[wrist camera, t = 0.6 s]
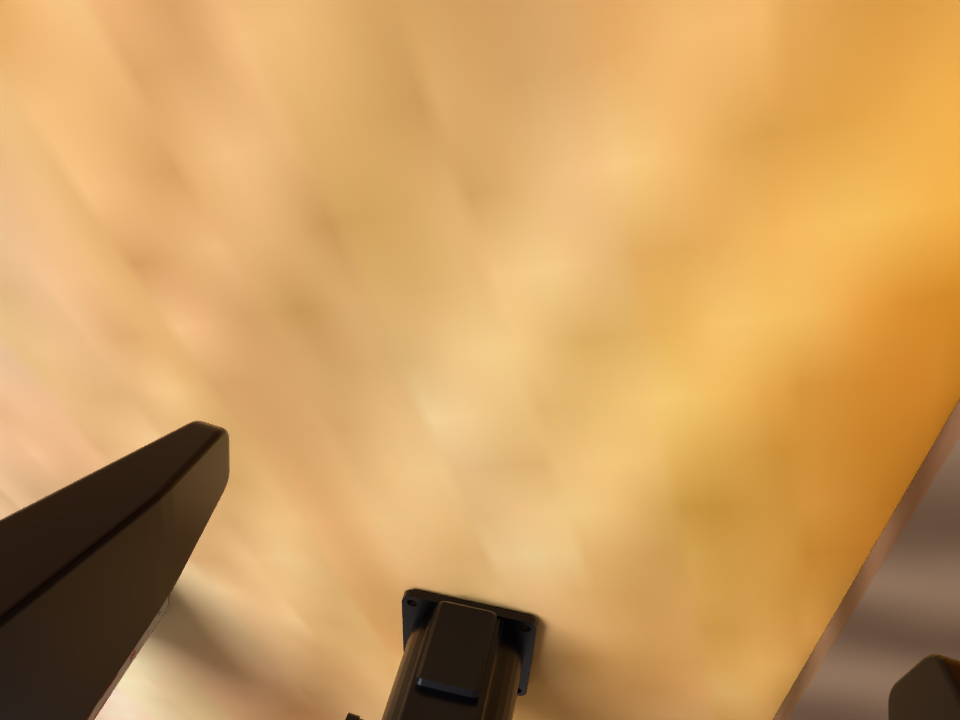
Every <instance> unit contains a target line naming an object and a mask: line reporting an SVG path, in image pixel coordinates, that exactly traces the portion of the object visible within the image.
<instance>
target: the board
mask: <svg viewBox="0 0 960 720" xmlns="http://www.w3.org/2000/svg"><path fill="white" fill-rule="evenodd" d="M930 654H940V655H943V656H946V657H949V658H952V659H955V660H959V661H960V400H959V402H958V403H957V405H956V407H955V408H954V410H953V412H952V414H951V415H950V417H949V419H948V420H947V422H946V424H945V426H944V427H943V429H942V431H941V432H940V434H939V436H938V438H937V439H936V441H935V443H934V444H933V446H932V448H931V450H930V451H929V453H928V455H927V456H926V458H925V460H924V462H923V463H922V465H921V467H920V468H919V470H918V472H917V474H916V475H915V477H914V479H913V480H912V482H911V484H910V486H909V487H908V489H907V491H906V492H905V494H904V496H903V498H902V499H901V501H900V503H899V504H898V506H897V508H896V510H895V511H894V513H893V515H892V516H891V518H890V520H889V522H888V523H887V525H886V527H885V528H884V530H883V532H882V534H881V535H880V537H879V539H878V540H877V542H876V544H875V546H874V547H873V549H872V551H871V552H870V554H869V556H868V558H867V559H866V561H865V563H864V564H863V566H862V568H861V570H860V571H859V573H858V575H857V576H856V578H855V580H854V582H853V583H852V585H851V587H850V588H849V590H848V592H847V594H846V595H845V597H844V599H843V600H842V602H841V604H840V606H839V607H838V609H837V611H836V612H835V614H834V616H833V618H832V619H831V621H830V623H829V625H828V626H827V628H826V630H825V631H824V633H823V635H822V637H821V638H820V640H819V642H818V643H817V645H816V647H815V649H814V650H813V652H812V654H811V655H810V657H809V659H808V661H807V662H806V664H805V666H804V667H803V669H802V671H801V673H800V674H799V676H798V678H797V679H796V681H795V683H794V685H793V686H792V688H791V690H790V691H789V693H788V695H787V697H786V698H785V700H784V702H783V703H782V705H781V707H780V709H779V710H778V712H777V714H776V715H775V717H774V719H773V720H888V698H889V694H890V691H891V689H892V687H893V685H894V684H895V683H896V682H897V681H898V680H899V679H900V678H901V677H902V676H903V675H905V674H906V673H907V672H908V671H909V670H910V669H911V668H912V667H914V666H915V665H916V664H917V663H918V662H919V661H920V660H922V659H923V658H924V657H925V656H927V655H930Z"/></svg>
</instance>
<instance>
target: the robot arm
mask: <svg viewBox="0 0 960 720" xmlns="http://www.w3.org/2000/svg"><path fill="white" fill-rule="evenodd" d="M228 478H229V434H228V432H227V431H226V429H224V428H222V427H219V426H215V425H212V424H209V423H206V422H202V421H194V422H191V423H189V424H187V425H185V426H183V427H181V428H179V429H177V430H175V431H173V432H171V433H169V434H167V435H165V436H163V437H161V438H159V439H158V440H156V441H154V442H152V443H150V444H148V445H146V446H144V447H142V448H140V449H138V450H136V451H134V452H132V453H130V454H128V455H126V456H124V457H122V458H120V459H118V460H117V461H115V462H113V463H111V464H109V465H107V466H105V467H103V468H101V469H99V470H97V471H95V472H93V473H91V474H89V475H87V476H85V477H83V478H81V479H79V480H78V481H76V482H74V483H72V484H70V485H68V486H66V487H64V488H62V489H60V490H58V491H56V492H54V493H52V494H50V495H48V496H46V497H44V498H42V499H40V500H39V501H37V502H35V503H33V504H31V505H29V506H27V507H25V508H23V509H21V510H19V511H17V512H15V513H13V514H11V515H9V516H7V517H5V518H3V519H1V520H0V720H87V719H88V717H89V716H90V714H91V713H92V711H93V710H94V708H95V707H96V705H97V704H98V702H99V701H100V699H101V698H102V696H103V695H104V693H105V692H106V690H107V689H108V687H109V686H110V684H111V683H112V681H113V680H114V678H115V677H116V675H117V674H118V672H119V671H120V669H121V668H122V666H123V665H124V663H125V662H126V660H127V659H128V657H129V656H130V654H131V653H132V651H133V650H134V648H135V647H136V645H137V644H138V642H139V641H140V639H141V638H142V636H143V635H144V633H145V632H146V630H147V629H148V627H149V626H150V624H151V623H152V621H153V620H154V618H155V617H156V615H157V614H158V612H159V611H160V609H161V608H162V606H163V604H164V603H165V601H166V600H167V598H168V596H169V595H170V593H171V591H172V590H173V588H174V586H175V584H176V582H177V580H178V579H179V577H180V575H181V573H182V571H183V569H184V567H185V565H186V563H187V561H188V559H189V557H190V555H191V554H192V552H193V550H194V548H195V546H196V544H197V542H198V540H199V538H200V536H201V534H202V532H203V530H204V528H205V527H206V525H207V523H208V521H209V519H210V517H211V515H212V513H213V511H214V509H215V507H216V505H217V503H218V501H219V500H220V498H221V496H222V494H223V492H224V490H225V487H226V485H227V482H228ZM402 617H403V645H404V654H403V657H402V660H401V663H400V666H399V669H398V672H397V675H396V678H395V681H394V684H393V687H392V690H391V693H390V696H389V699H388V702H387V705H386V708H385V711H384V714H383V717H382V720H512V718H513V713H514V707H515V702H516V697H517V695H518V696H522V695H525V694H526V692H527V686H528V680H529V674H530V668H531V661H532V655H533V649H534V643H535V636H536V630H537V624H538V623H537V620H536V619H535V618H534V617H533V616H530V615H527V614H522V613H518V612H513V611H509V610H504V609H499V608H495V607H490V606H486V605H481V604H477V603H472V602H468V601H463V600H459V599H454V598H449V597H445V596H440V595H436V594H431V593H427V592H422V591H418V590H411V589H410V590H407V591H405V593H404V596H403V599H402ZM346 720H363V719H360V716H358V715H355V714H352V713H348V715H347V717H346ZM888 720H960V661H959V660H955V659H952V658H949V657H946V656H943V655H940V654H930V655H927V656H925V657H924V658H923V659H922V660H920V661H919V662H918V663H917V664H916V665H915V666H914V667H912V668H911V669H910V670H909V671H908V672H907V673H906V674H905V675H903V676H902V677H901V678H900V679H899V680H898V681H897V682H896V683H895V684H894V685H893V687H892V689H891V691H890V694H889V698H888Z"/></svg>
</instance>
